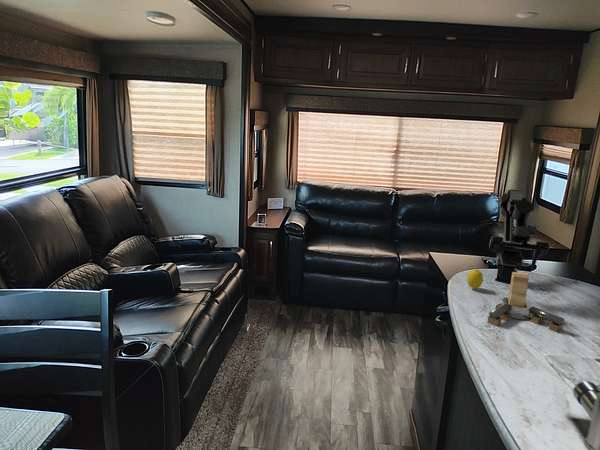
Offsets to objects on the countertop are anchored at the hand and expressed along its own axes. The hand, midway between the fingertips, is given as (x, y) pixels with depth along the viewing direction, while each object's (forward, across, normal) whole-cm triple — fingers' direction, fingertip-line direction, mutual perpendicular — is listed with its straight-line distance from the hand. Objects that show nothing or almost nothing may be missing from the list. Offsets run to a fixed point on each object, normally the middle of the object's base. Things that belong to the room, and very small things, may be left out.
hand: (517, 266), depth 154 cm
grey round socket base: (+15, 0, +4) cm, 16 cm away
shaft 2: (+20, +8, -1) cm, 22 cm away
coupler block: (+15, 0, +3) cm, 15 cm away
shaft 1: (+22, -6, -3) cm, 22 cm away
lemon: (+3, -12, +17) cm, 21 cm away
